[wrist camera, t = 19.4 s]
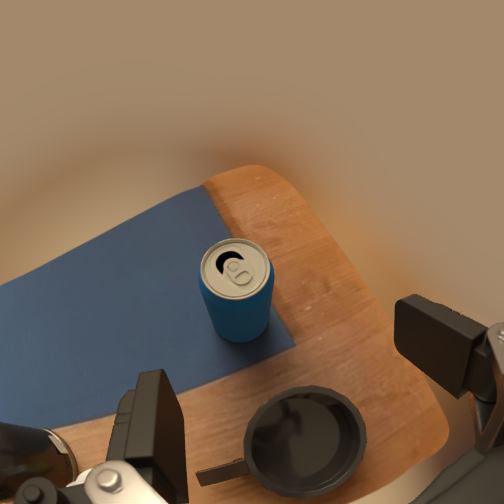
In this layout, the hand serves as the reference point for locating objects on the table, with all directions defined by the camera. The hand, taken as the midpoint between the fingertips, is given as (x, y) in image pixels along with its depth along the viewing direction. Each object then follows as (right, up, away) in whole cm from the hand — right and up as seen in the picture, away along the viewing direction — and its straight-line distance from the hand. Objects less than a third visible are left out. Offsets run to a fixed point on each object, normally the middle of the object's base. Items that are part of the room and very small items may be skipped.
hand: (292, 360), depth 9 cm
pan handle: (-4, -19, +15) cm, 25 cm away
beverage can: (-3, -4, +25) cm, 26 cm away
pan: (+4, -16, +17) cm, 24 cm away
